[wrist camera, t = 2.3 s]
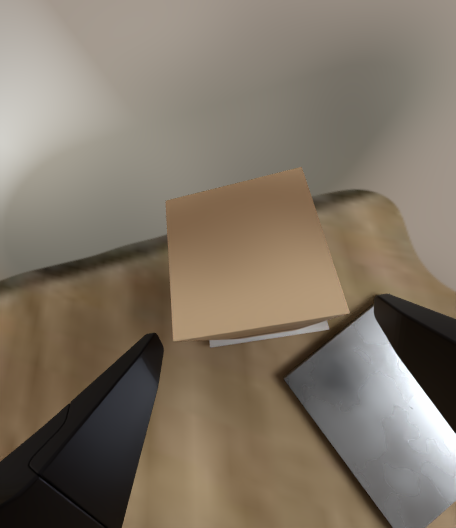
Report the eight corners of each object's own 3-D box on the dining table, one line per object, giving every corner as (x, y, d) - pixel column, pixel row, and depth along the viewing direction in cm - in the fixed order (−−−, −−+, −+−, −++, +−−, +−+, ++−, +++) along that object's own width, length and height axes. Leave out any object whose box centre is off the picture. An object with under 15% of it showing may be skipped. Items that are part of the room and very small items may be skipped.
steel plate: (521, 423, 13) (536, 428, 13) (398, 533, 13) (405, 545, 12) (384, 295, 17) (389, 293, 16) (283, 377, 16) (283, 379, 16)
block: (325, 330, 17) (465, 308, 5) (213, 347, 18) (93, 366, 6) (308, 269, 19) (378, 139, 6) (207, 288, 20) (103, 209, 8)
